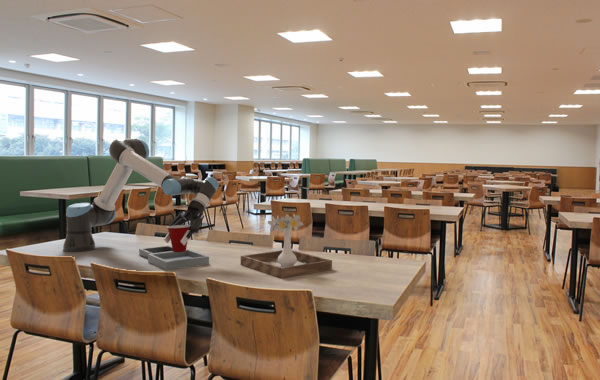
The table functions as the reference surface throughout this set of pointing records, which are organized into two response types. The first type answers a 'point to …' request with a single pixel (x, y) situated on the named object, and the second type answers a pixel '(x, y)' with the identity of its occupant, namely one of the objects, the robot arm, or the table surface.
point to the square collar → (154, 250)
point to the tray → (178, 259)
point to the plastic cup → (178, 237)
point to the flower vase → (286, 237)
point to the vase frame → (313, 266)
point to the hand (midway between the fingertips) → (174, 242)
